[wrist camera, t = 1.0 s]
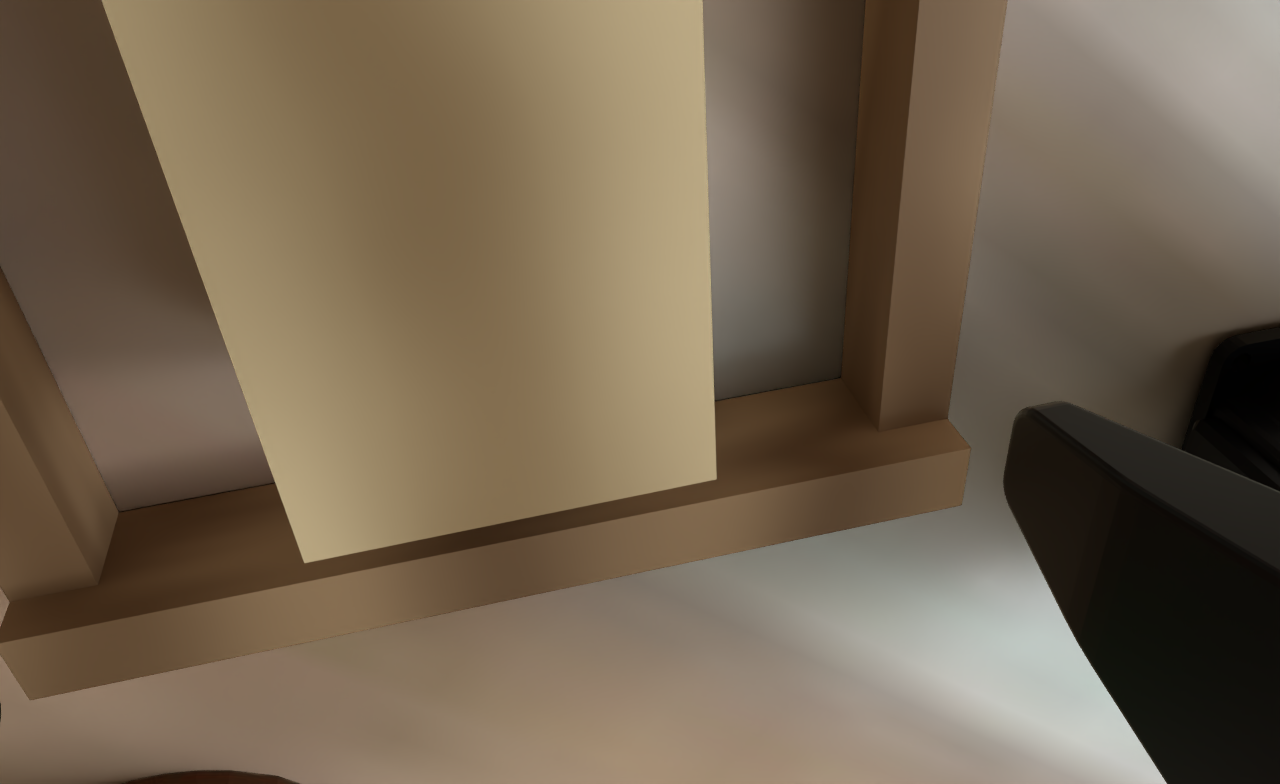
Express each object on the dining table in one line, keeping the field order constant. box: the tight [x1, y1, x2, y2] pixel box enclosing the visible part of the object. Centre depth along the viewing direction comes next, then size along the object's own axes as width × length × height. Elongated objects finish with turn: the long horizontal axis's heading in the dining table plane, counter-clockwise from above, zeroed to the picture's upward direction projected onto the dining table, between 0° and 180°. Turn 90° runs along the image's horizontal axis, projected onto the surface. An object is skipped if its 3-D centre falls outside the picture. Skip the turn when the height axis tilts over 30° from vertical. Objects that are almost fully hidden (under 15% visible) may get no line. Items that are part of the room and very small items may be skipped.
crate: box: [101, 0, 717, 563], centre depth 15 cm, size 6×8×6 cm
